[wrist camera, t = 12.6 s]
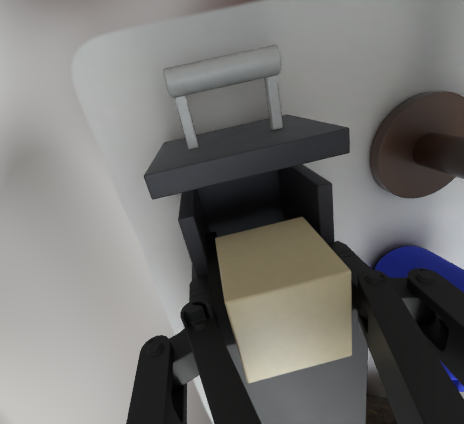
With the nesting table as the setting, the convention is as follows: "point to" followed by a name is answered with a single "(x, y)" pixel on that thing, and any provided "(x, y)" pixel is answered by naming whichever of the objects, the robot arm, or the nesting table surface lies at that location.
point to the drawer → (243, 159)
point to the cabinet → (313, 388)
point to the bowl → (379, 411)
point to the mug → (416, 257)
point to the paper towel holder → (420, 145)
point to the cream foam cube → (285, 298)
